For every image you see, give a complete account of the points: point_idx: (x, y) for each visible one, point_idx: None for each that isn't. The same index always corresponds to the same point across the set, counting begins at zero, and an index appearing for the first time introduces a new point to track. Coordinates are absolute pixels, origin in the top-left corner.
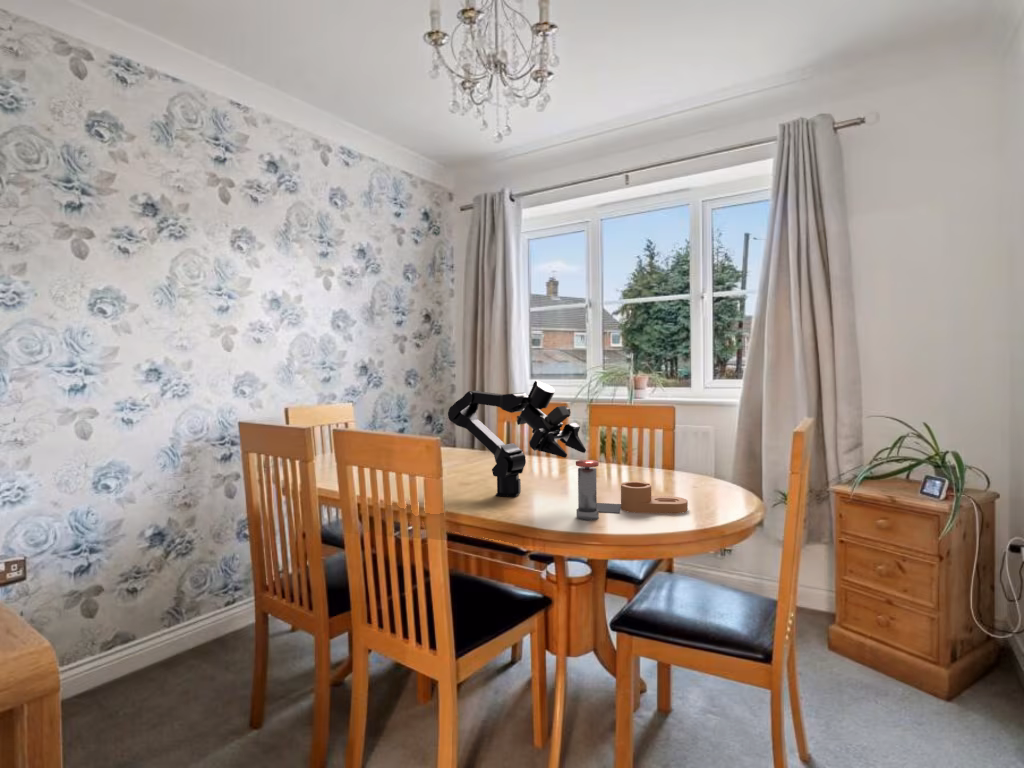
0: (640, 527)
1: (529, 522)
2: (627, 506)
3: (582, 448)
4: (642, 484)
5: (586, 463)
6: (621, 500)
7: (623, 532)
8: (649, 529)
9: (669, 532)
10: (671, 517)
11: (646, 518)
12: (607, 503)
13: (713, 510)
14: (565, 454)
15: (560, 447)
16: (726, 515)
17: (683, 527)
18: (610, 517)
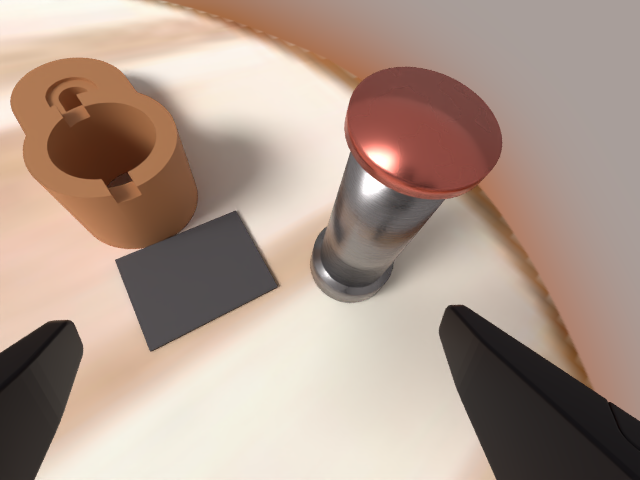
0: (323, 117)
1: None
2: (192, 194)
3: (46, 364)
4: (55, 135)
5: (464, 103)
6: (169, 216)
7: None
8: (322, 98)
9: (310, 64)
10: (184, 94)
11: (236, 135)
12: (135, 308)
13: (43, 40)
14: (470, 314)
15: (542, 379)
16: (84, 13)
17: (254, 54)
18: (296, 212)
